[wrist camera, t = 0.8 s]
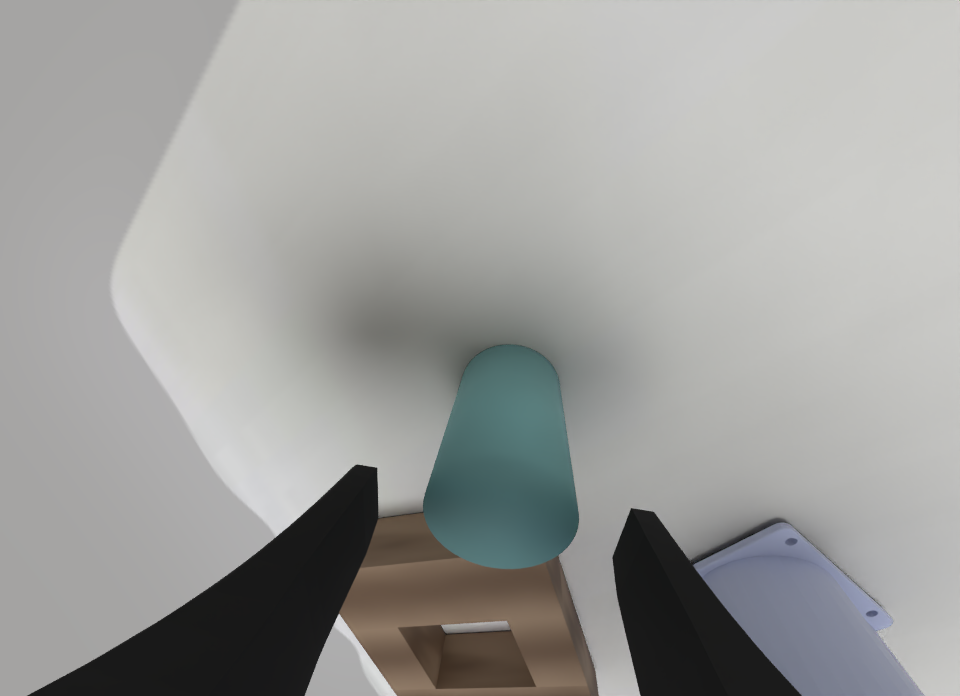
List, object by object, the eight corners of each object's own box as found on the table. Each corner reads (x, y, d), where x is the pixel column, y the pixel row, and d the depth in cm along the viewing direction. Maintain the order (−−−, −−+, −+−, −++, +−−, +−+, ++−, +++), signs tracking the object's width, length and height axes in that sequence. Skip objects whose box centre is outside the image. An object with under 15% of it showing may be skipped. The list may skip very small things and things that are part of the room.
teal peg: (581, 388, 17) (613, 521, 10) (512, 444, 18) (504, 588, 12) (506, 324, 16) (492, 427, 9) (442, 389, 17) (393, 513, 11)
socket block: (595, 671, 25) (603, 730, 23) (431, 675, 28) (420, 729, 25) (538, 496, 20) (540, 549, 17) (337, 524, 22) (310, 573, 20)
